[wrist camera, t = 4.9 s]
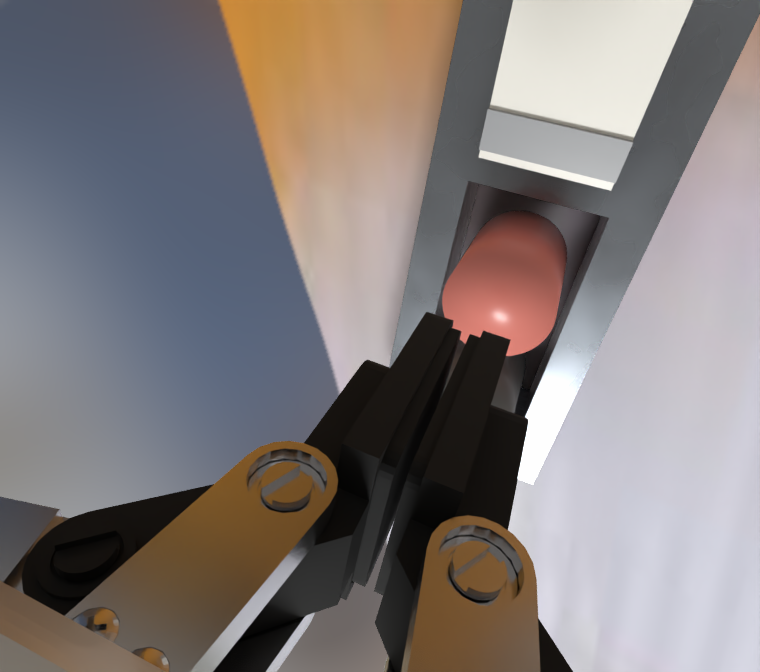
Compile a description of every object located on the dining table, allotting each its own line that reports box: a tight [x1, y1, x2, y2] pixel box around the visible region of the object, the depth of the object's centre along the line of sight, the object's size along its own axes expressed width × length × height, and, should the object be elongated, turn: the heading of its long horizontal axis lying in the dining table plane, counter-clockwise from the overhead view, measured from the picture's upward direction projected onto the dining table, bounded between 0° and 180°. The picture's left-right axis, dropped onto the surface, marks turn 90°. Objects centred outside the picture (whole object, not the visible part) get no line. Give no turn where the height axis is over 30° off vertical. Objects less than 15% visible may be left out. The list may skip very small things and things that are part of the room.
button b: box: [443, 339, 526, 413], centre depth 21 cm, size 4×4×4 cm
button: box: [442, 211, 567, 356], centre depth 18 cm, size 4×4×4 cm
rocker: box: [479, 0, 693, 191], centre depth 13 cm, size 7×4×2 cm, turn 172°
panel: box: [389, 0, 760, 485], centre depth 20 cm, size 22×8×4 cm, turn 172°
